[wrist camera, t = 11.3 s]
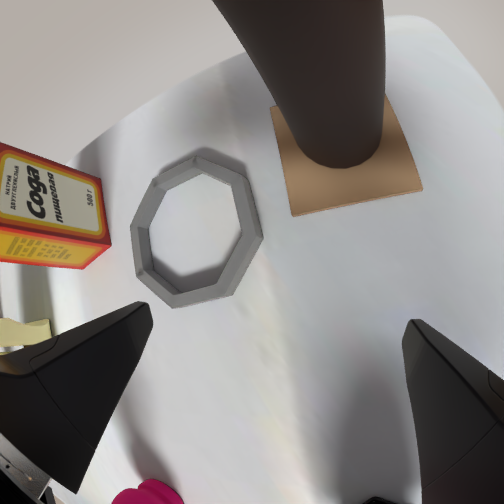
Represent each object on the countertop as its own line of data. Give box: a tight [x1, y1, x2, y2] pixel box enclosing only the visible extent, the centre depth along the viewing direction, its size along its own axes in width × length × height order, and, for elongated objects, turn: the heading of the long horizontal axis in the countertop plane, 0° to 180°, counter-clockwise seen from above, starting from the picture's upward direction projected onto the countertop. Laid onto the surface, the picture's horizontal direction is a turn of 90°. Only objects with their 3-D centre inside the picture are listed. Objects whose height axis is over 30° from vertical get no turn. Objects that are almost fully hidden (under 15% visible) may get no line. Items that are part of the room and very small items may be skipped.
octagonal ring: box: [130, 156, 263, 309], centre depth 23 cm, size 12×12×2 cm
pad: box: [270, 94, 423, 217], centre depth 19 cm, size 10×10×1 cm
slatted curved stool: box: [0, 318, 52, 355], centre depth 25 cm, size 30×16×18 cm, turn 13°
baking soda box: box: [0, 142, 112, 269], centre depth 22 cm, size 10×6×16 cm
